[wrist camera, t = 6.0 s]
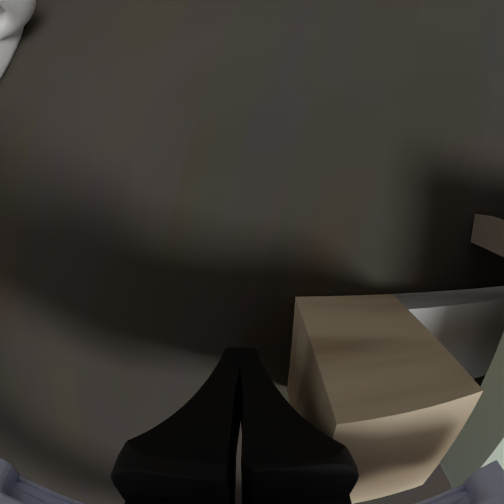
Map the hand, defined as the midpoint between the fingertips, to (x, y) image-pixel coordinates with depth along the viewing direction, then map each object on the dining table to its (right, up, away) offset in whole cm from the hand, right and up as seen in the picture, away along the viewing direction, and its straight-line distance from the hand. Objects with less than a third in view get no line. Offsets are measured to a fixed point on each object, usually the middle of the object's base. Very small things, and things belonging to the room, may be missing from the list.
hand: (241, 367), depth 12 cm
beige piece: (+12, 0, +1) cm, 12 cm away
